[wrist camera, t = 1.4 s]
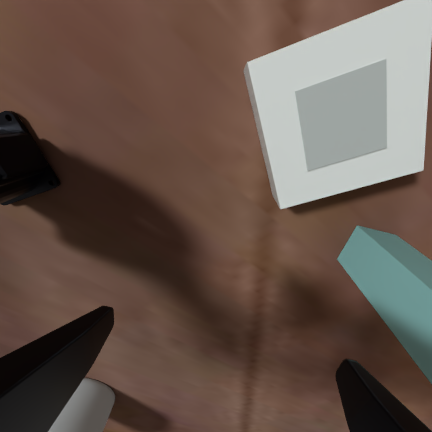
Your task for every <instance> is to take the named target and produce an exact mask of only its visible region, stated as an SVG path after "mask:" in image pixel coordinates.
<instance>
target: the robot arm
mask: <svg viewBox="0 0 432 432" xmlns="http://www.w3.org/2000/svg"><path fill="white" fill-rule="evenodd" d="M10 116H11V118H12V120H11V119H10ZM52 181H53V182H54V184H53V183H52ZM59 185H60V181H59V179H58V177H57V176H56V174H55V173H54V171H53V170H52V168H51V166H50V165H49V163H48V162H47V160H46V159H45V157H44V156H43V154H42V152H41V151H40V149H39V148H38V146H37V145H36V143H35V141H34V140H33V138H32V137H31V135H30V134H29V132H28V131H27V129H26V127H25V126H24V124H23V123H22V121H21V120H20V118H19V116H18V115H17V114H16V113H15V112H13V111H4V112H1V113H0V204H1V205H8V204H11V203H13V202H16V201H19V200H22V199H25V198H28V197H31V196H33V195H36V194H39V193H42V192H45V191H48V190H51V189H53V188H56V187H58V186H59ZM113 325H114V310H113V308H112V307H108V306H101V307H99V308H97V309H95V310H93V311H91V312H89V313H87V314H85V315H83V316H81V317H79V318H78V319H76V320H74V321H72V322H70V323H68V324H66V325H64V326H62V327H60V328H58V329H56V330H54V331H52V332H50V333H48V334H46V335H44V336H42V337H40V338H38V339H36V340H34V341H32V342H31V343H29V344H27V345H25V346H23V347H21V348H19V349H17V350H15V351H13V352H11V353H9V354H7V355H5V356H3V357H1V358H0V432H48V431H49V429H50V428H51V426H52V425H53V423H54V422H55V421H56V419H57V418H58V416H59V415H60V413H61V412H62V410H63V409H64V407H65V406H66V404H67V403H68V401H69V400H70V398H71V397H72V395H73V394H74V392H75V391H76V389H77V388H78V386H79V385H80V383H81V382H82V380H83V379H84V377H85V376H86V374H87V373H88V371H89V370H90V368H91V367H92V365H93V363H94V361H95V360H96V358H97V356H98V354H99V352H100V350H101V349H102V347H103V345H104V343H105V341H106V339H107V337H108V336H109V334H110V332H111V330H112V328H113ZM336 381H337V385H338V389H339V393H340V397H341V401H342V405H343V409H344V413H345V417H346V421H347V424H348V427H349V430H350V432H432V431H431V430H430V429H429V428H428V427H427V426H426V425H425V424H424V423H422V422H421V421H420V420H419V419H418V418H417V417H416V416H415V415H414V414H413V413H412V412H411V411H410V410H408V409H407V408H406V407H405V406H404V405H403V404H402V403H401V402H400V401H399V400H398V399H397V398H396V397H395V396H393V395H392V394H391V393H390V392H389V391H388V390H387V389H386V388H385V387H384V386H383V385H382V384H381V383H380V382H378V381H377V380H376V379H375V378H374V377H373V376H372V375H371V374H370V373H369V372H368V371H367V370H366V369H364V368H363V367H362V366H361V365H360V364H359V363H358V362H357V361H354V360H349V359H344V360H343V362H342V363H341V365H340V366H339V368H338V369H337V371H336Z"/></svg>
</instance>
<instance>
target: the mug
mask: <svg viewBox="0 0 432 432" xmlns="http://www.w3.org/2000/svg"><path fill="white" fill-rule="evenodd" d="M114 401H115V394H114V392H113V391H112V389H111V388H110V387H108V386H107V385H105V384H104V383H102V382H100V381H97V380H94V379H90V378H84V379H83V380H82V382H81V383H80V385H79V386H78V388H77V389H76V391H75V392H74V394H73V395H72V397H71V398H70V400H69V401H68V403H67V404H66V406H65V407H64V409H63V410H62V412H61V413H60V415H59V416H58V418H57V419H56V421H55V422H54V423H53V425H52V426H51V428H50V429H49V431H48V432H103V430H104V427H105V425H106V422H107V420H108V417H109V415H110V412H111V410H112V407H113V405H114Z"/></svg>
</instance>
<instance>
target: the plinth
mask: <svg viewBox="0 0 432 432" xmlns="http://www.w3.org/2000/svg"><path fill="white" fill-rule="evenodd" d="M431 39H432V0H404V1H401V2H399V3H396V4H394V5H391V6H389V7H386V8H384V9H381V10H378V11H376V12H373V13H371V14H368V15H366V16H363V17H361V18H358V19H356V20H353V21H351V22H348V23H346V24H343V25H340V26H338V27H335V28H333V29H330V30H328V31H325V32H323V33H320V34H318V35H315V36H313V37H310V38H308V39H305V40H302V41H300V42H297V43H295V44H292V45H290V46H287V47H285V48H282V49H280V50H277V51H275V52H272V53H270V54H267V55H264V56H262V57H259V58H257V59H254V60H252V61H249V62H247V64H246V66H245V68H244V75H245V79H246V83H247V88H248V92H249V96H250V100H251V105H252V109H253V113H254V117H255V122H256V126H257V130H258V134H259V139H260V143H261V147H262V152H263V156H264V160H265V164H266V169H267V173H268V177H269V181H270V186H271V190H272V194H273V197H274V199H275V201H276V202H277V204H278V206H279V208H280V209H284V208H287V207H291V206H295V205H298V204H302V203H306V202H309V201H313V200H317V199H320V198H324V197H328V196H331V195H335V194H339V193H342V192H346V191H350V190H353V189H357V188H361V187H364V186H368V185H372V184H375V183H379V182H383V181H386V180H390V179H394V178H397V177H401V176H405V175H408V174H412V173H416V172H419V171H423V168H424V152H425V136H426V120H427V104H428V88H429V71H430V55H431Z"/></svg>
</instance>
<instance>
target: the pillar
mask: <svg viewBox="0 0 432 432" xmlns="http://www.w3.org/2000/svg"><path fill="white" fill-rule="evenodd" d="M337 260H338V261H339V262H340V264H341V265H342V266H343V268H344V269H345V270H346V272H347V273H348V274H349V276H350V277H351V278H352V279H353V281H354V282H355V283H356V285H357V286H358V287H359V289H360V290H361V291H362V293H363V294H364V295H365V297H366V298H367V299H368V301H369V302H370V303H371V305H372V306H373V307H374V309H375V310H376V311H377V313H378V314H379V315H380V317H381V318H382V319H383V320H384V322H385V323H386V324H387V326H388V327H389V328H390V330H391V331H392V332H393V334H394V335H395V336H396V338H397V339H398V340H399V342H400V343H401V344H402V346H403V347H404V348H405V350H406V351H407V352H408V354H409V355H410V356H411V358H412V359H413V360H414V361H415V363H416V364H417V365H418V367H419V368H420V369H421V371H422V372H423V373H424V375H425V376H426V377H427V379H428V380H429V381H430V383H431V384H432V261H431V260H430V259H428V258H427V257H426V256H424V255H423V254H422V253H420V252H419V251H417V250H416V249H415V248H413V247H412V246H411V245H409V244H408V243H406V242H405V241H404V240H402V239H401V238H399V237H398V236H397V235H394V234H390V233H386V232H382V231H378V230H374V229H370V228H365V227H361V226H356V228H355V230H354V232H353V233H352V235H351V237H350V238H349V240H348V242H347V243H346V245H345V247H344V248H343V250H342V252H341V253H340V255H339V257H338V258H337Z"/></svg>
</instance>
